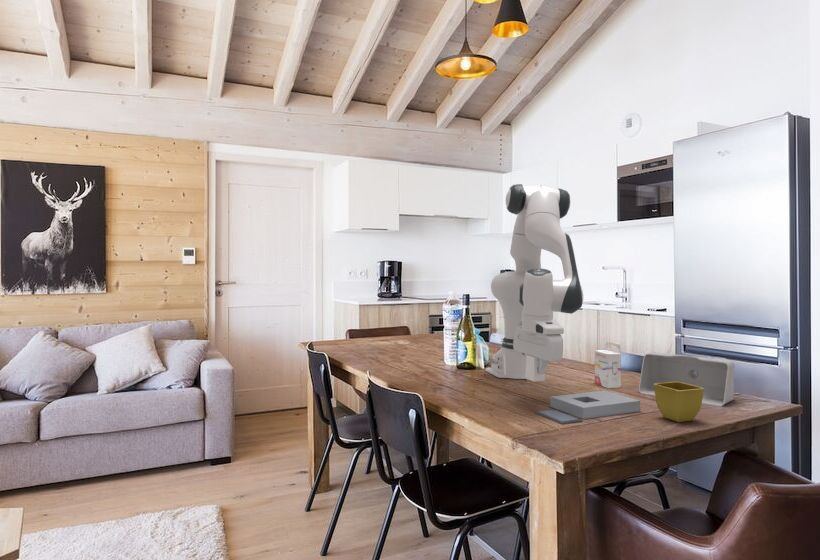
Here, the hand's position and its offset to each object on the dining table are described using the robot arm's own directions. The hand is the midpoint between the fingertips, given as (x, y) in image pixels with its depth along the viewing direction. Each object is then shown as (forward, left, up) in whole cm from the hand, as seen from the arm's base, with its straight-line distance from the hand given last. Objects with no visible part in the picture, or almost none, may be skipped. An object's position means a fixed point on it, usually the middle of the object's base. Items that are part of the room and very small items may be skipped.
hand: (535, 371), depth 158 cm
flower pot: (+27, +26, -10) cm, 39 cm away
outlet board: (+10, +13, -10) cm, 19 cm away
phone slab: (+13, -2, -11) cm, 17 cm away
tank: (+8, +52, -10) cm, 54 cm away
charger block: (0, 0, -2) cm, 2 cm away
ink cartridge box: (-13, +39, -10) cm, 42 cm away
